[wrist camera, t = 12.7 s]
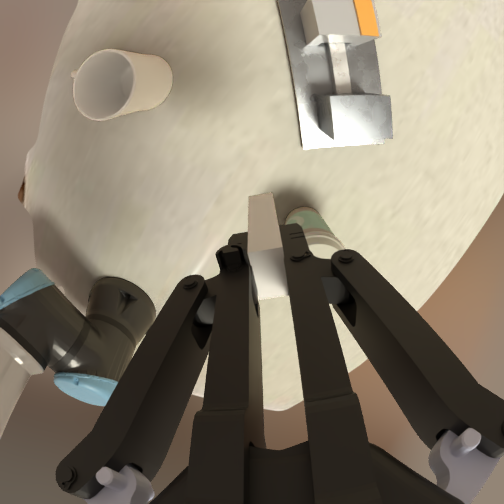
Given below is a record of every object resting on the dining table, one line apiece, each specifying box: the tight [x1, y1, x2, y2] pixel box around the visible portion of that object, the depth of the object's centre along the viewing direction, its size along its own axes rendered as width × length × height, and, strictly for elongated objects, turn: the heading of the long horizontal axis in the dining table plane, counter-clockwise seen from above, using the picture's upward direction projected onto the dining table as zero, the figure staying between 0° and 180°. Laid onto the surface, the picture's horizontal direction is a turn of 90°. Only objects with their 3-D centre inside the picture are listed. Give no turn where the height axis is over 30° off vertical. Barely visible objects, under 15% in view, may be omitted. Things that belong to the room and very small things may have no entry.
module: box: [300, 0, 382, 46], centre depth 22 cm, size 5×7×8 cm
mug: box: [71, 49, 173, 121], centre depth 26 cm, size 12×8×12 cm
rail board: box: [277, 0, 393, 149], centre depth 24 cm, size 30×12×9 cm, turn 10°
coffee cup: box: [285, 207, 345, 259], centre depth 38 cm, size 8×9×12 cm
